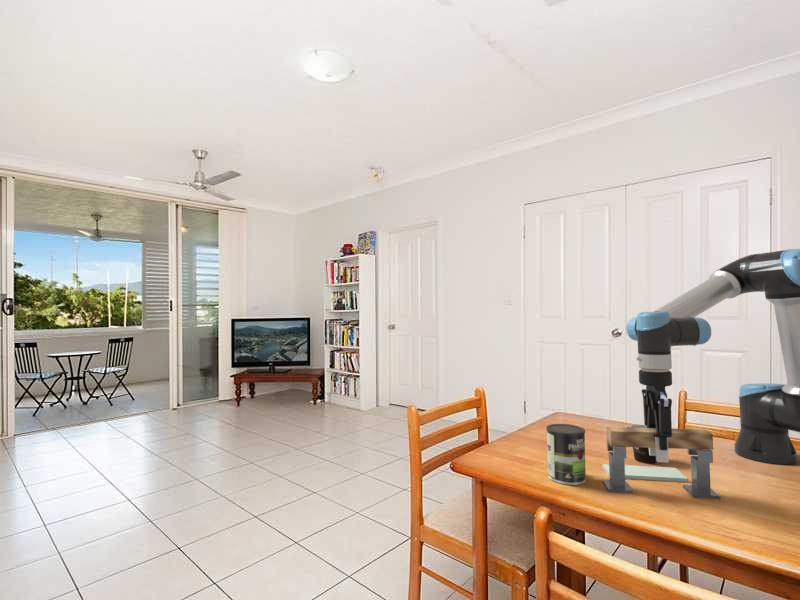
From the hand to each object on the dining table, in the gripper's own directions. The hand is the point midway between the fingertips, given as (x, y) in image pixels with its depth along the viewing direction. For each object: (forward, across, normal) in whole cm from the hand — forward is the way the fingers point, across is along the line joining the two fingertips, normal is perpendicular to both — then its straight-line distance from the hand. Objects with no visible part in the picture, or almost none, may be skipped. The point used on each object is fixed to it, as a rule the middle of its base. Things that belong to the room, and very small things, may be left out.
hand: (658, 458), depth 111 cm
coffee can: (+8, -5, -22) cm, 24 cm away
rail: (-3, 0, 0) cm, 3 cm away
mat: (+8, -11, 0) cm, 14 cm away
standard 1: (+8, 0, -10) cm, 13 cm away
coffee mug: (+9, -25, +5) cm, 27 cm away
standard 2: (+9, 0, +10) cm, 13 cm away
